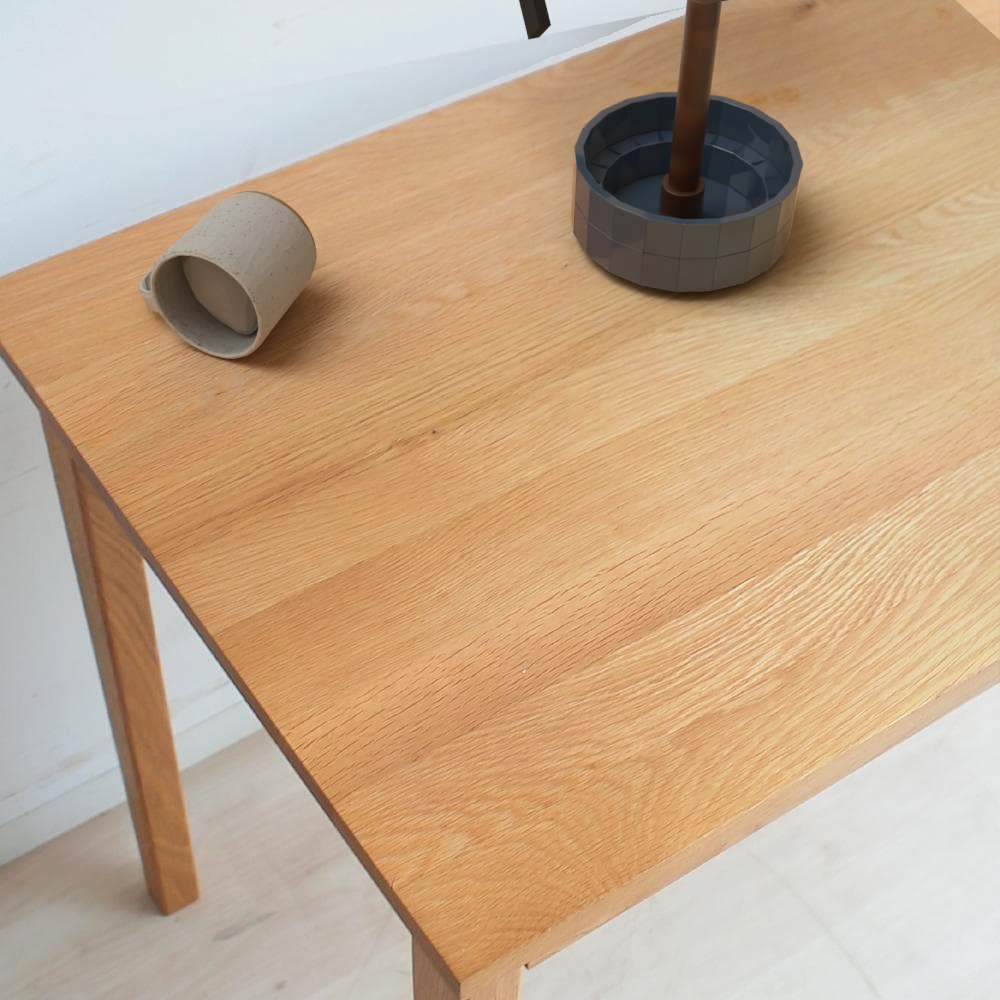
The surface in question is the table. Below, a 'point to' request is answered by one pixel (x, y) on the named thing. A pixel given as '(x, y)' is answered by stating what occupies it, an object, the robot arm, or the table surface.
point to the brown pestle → (691, 112)
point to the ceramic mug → (232, 274)
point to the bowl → (727, 199)
